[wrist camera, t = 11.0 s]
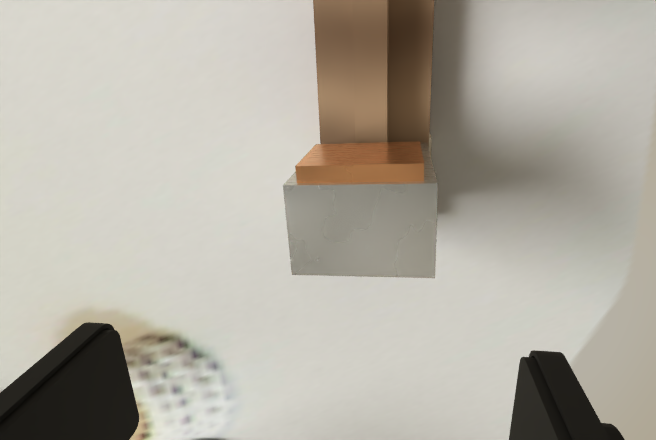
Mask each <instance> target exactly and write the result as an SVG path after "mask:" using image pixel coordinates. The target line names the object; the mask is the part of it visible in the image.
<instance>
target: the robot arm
mask: <svg viewBox="0 0 656 440" xmlns="http://www.w3.org/2000/svg"><path fill="white" fill-rule="evenodd" d="M138 422H139V413H138V409H137V405H136V401H135V397H134V393H133V388H132V384H131V380H130V376H129V372H128V368H127V364H126V360H125V355H124V351H123V347H122V343H121V339H120V335H119V333H118V332H117V331H115V330H114V328H113V326H112V325H110V324H104V323H84V324H82V325H81V326H80V327H78V328H77V329H76V330H75V331H74V332H72V333H71V334H70V335H69V336H68V337H66V338H65V339H64V340H63V341H62V342H61V343H59V344H58V345H57V346H56V347H55V348H53V349H52V350H51V351H50V352H49V353H47V354H46V355H45V356H44V357H43V358H41V359H40V360H39V361H38V362H37V363H35V364H34V365H33V366H32V367H31V368H29V369H28V370H27V371H26V372H25V373H23V374H22V375H21V376H20V377H19V378H17V379H16V380H15V381H14V382H13V383H12V384H10V385H9V386H8V387H7V388H6V389H4V390H3V391H2V392H1V393H0V440H129V439H130V438H131V436H132V435H133V434H134V432H135V430H136V429H137V426H138ZM509 440H624V438H623V437H622V435H621V433H620V432H619V431H618V429H617V428H616V427H615V426H613V425H612V424H606V423H601V422H600V420H599V418H598V416H597V415H596V413H595V411H594V409H593V407H592V405H591V404H590V402H589V400H588V398H587V396H586V395H585V393H584V391H583V389H582V387H581V386H580V384H579V382H578V380H577V378H576V376H575V374H574V373H573V371H572V369H571V367H570V365H569V363H568V362H567V360H566V358H565V356H564V355H563V354H562V353H561V352H548V351H531V353H530V355H529V357H522V358H521V359H520V364H519V372H518V379H517V386H516V393H515V400H514V407H513V414H512V422H511V429H510V436H509Z"/></svg>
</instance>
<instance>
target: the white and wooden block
mask: <svg viewBox="0 0 656 440" xmlns="http://www.w3.org/2000/svg"><path fill="white" fill-rule="evenodd" d="M295 167H296V172H295V173H294V174H293V175H292V176H291V177H290V178H289V179H288V180H287V182H286V183H285V184H284V185H283V190H284V200H285V210H286V220H287V230H288V240H289V250H290V260H291V270H292V275H327V276H370V277H413V278H435V261H436V228H437V194H438V182H437V178H436V175H435V171H434V167H433V163H432V159H431V156H430V152H429V148H428V144H427V142H425V143H420V141H416V142H382V143H348V144H316V145H315V146H314V147H313V148H312V149H311V150H310V151H309V152H308V153H307V154H306V156H305V157H304V158H303V159H302V160H301V161H300V162H299V163H298V164H297V165H296V166H295Z"/></svg>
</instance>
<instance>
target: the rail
mask: <svg viewBox="0 0 656 440" xmlns="http://www.w3.org/2000/svg"><path fill="white" fill-rule="evenodd" d="M313 5H314V24H315V44H316V63H317V83H318V103H319V122H320V142H321V144H348V143H382V142H416V141H420V143H425V142H427V144H428V148H429V152H430V156H431V142H432V138H431V135H430V133H429V127H430V100H431V74H432V47H433V21H434V0H313Z"/></svg>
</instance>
